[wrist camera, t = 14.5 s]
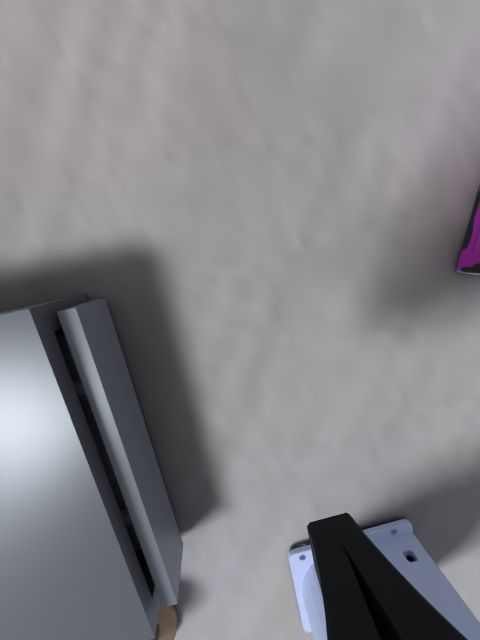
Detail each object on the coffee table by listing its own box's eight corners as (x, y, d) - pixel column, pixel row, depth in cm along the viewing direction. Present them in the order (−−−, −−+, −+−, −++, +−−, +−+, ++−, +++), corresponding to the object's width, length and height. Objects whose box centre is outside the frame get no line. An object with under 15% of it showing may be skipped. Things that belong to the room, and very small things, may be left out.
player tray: (105, 297, 15) (75, 307, 12) (183, 544, 19) (177, 604, 16) (-156, 353, 14) (-265, 380, 11) (-20, 598, 18) (-71, 673, 15)
